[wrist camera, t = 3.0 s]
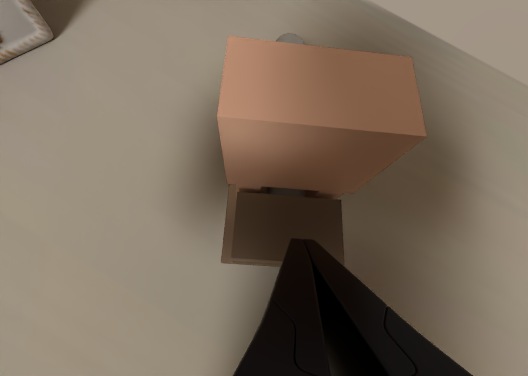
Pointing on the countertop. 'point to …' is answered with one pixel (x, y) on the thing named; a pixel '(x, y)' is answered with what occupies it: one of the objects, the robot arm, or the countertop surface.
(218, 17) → the countertop surface
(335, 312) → the robot arm
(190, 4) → the countertop surface
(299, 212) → the pipe stand
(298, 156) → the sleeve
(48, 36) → the decorative jar
